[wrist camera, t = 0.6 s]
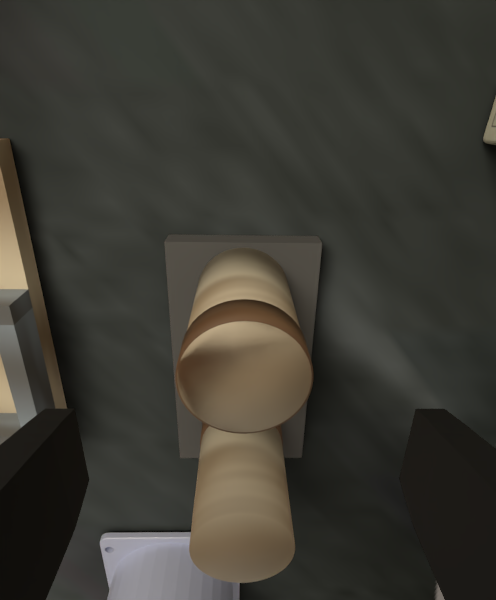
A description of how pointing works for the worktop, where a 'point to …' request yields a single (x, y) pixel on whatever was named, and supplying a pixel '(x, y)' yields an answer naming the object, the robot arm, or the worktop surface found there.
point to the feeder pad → (181, 293)
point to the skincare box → (491, 127)
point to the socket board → (22, 315)
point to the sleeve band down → (241, 506)
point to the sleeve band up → (243, 346)
